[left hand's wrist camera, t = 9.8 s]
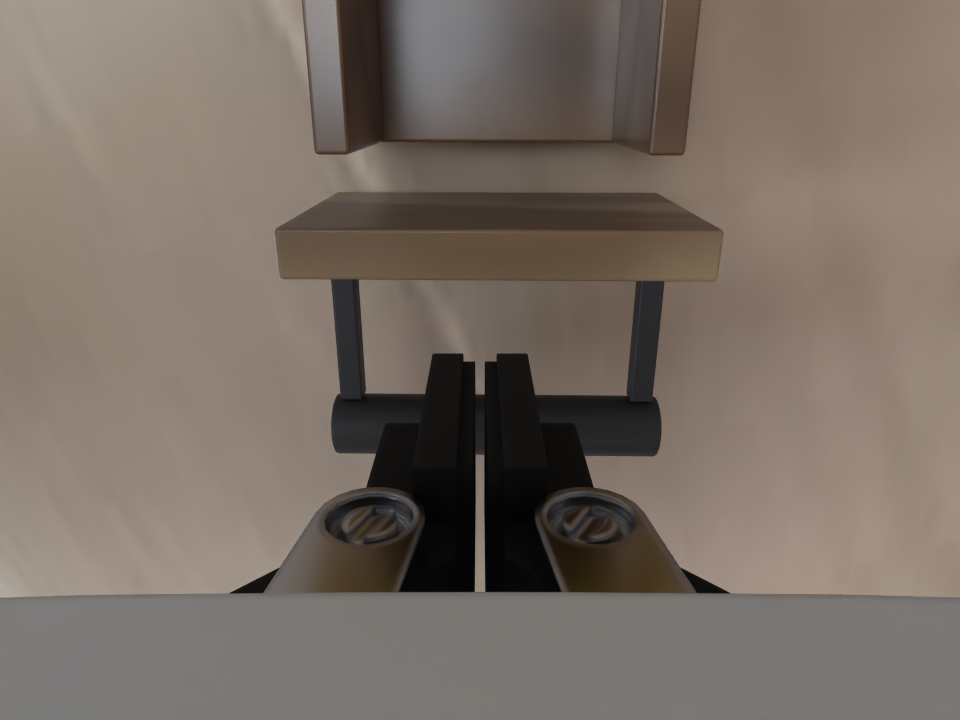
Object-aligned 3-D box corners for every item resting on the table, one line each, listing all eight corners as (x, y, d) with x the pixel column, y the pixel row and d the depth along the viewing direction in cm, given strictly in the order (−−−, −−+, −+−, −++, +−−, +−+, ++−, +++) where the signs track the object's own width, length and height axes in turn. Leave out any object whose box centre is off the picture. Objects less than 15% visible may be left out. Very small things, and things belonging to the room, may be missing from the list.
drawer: (640, 384, 23) (691, 483, 17) (350, 381, 23) (301, 479, 17) (725, -514, 15) (877, -915, 9) (284, -507, 15) (149, -898, 9)
